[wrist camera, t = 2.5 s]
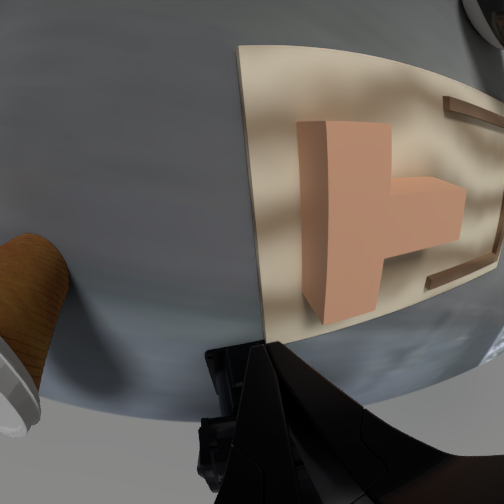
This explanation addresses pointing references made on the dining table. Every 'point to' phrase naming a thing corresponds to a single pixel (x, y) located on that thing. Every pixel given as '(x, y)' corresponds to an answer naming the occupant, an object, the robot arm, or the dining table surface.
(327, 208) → the t block
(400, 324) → the dining table surface
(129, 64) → the dining table surface
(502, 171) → the board
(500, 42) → the grey egg-shaped pod
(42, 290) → the disposable coffee cup
